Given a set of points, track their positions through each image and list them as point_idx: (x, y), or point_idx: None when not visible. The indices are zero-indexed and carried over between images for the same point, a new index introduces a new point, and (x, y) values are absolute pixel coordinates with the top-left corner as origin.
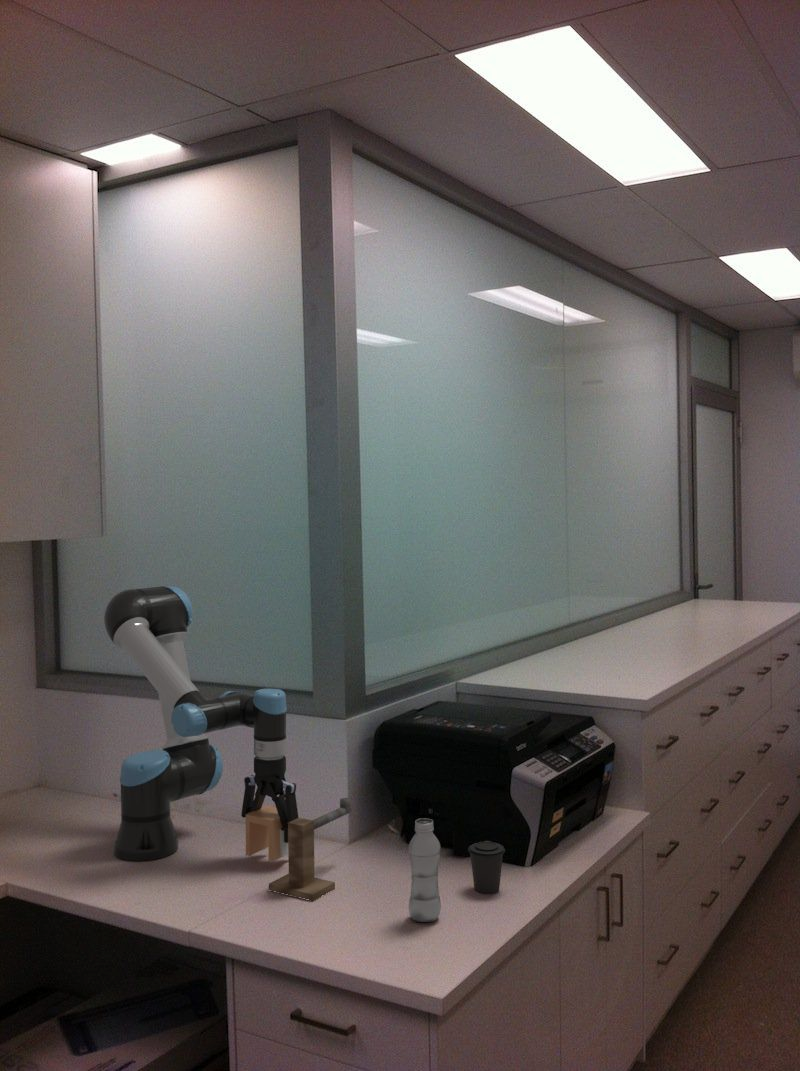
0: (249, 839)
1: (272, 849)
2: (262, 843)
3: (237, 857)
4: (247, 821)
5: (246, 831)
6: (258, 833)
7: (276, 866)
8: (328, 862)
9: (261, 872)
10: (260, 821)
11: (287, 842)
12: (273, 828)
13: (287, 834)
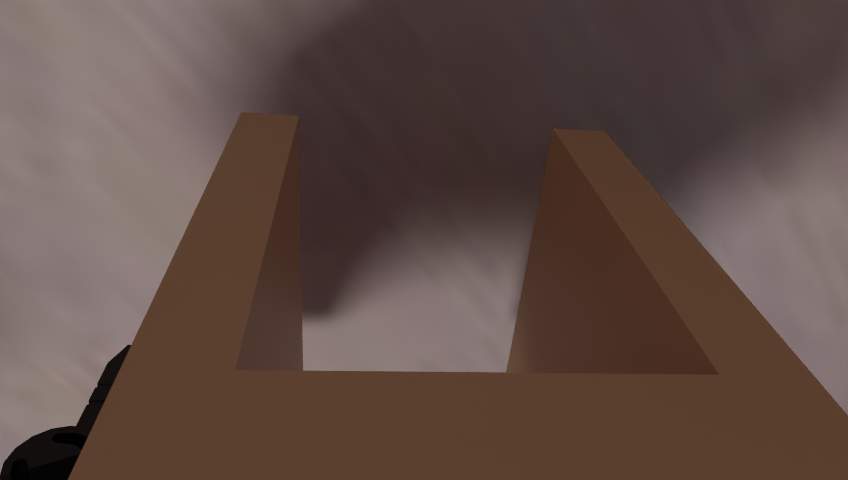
0: (611, 210)
1: (217, 168)
2: (533, 336)
3: (721, 202)
4: (771, 375)
5: (705, 266)
6: (579, 370)
7: (306, 188)
8: (15, 413)
9: (331, 5)
10: (458, 420)
11: (125, 350)
12: (131, 367)
13: (87, 426)
